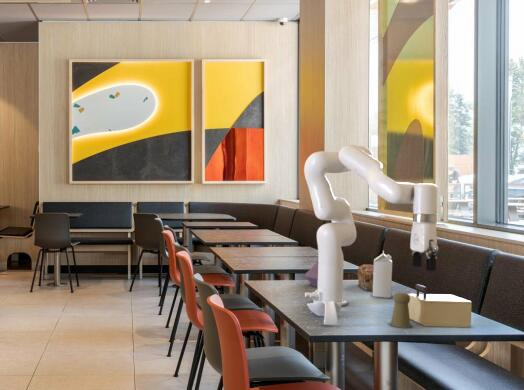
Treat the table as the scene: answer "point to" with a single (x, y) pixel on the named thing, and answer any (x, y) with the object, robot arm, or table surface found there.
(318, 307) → the spoon rest
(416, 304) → the chest
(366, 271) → the bread
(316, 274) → the flask
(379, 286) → the milk carton
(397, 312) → the cork
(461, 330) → the table surface
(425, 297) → the lid
